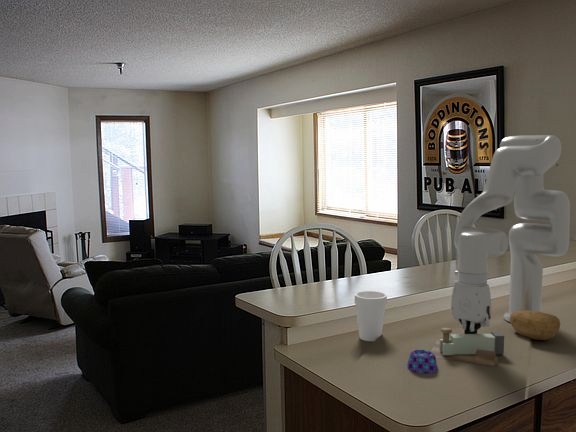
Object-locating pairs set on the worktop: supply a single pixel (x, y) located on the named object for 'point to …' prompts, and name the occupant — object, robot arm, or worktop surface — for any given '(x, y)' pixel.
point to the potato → (535, 324)
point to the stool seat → (479, 357)
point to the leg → (472, 343)
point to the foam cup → (370, 313)
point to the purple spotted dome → (422, 361)
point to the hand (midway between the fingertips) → (470, 343)
